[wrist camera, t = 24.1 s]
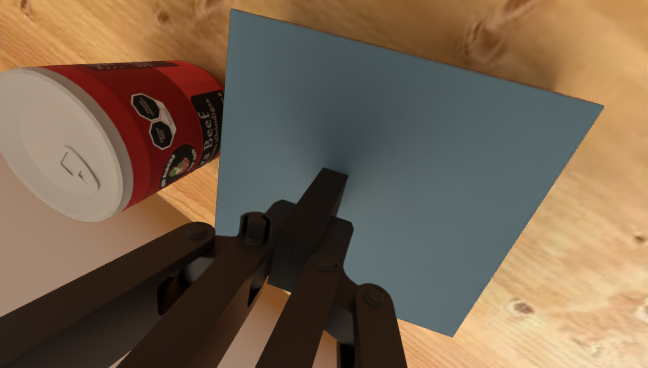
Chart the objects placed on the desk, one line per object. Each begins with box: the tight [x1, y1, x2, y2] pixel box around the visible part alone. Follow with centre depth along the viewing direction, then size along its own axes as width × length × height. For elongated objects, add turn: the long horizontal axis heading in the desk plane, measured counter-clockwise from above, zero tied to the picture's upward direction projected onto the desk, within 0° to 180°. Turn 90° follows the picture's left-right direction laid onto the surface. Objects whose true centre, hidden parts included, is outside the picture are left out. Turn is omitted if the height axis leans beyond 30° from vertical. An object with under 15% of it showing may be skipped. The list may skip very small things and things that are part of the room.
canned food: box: [0, 60, 225, 222], centre depth 19 cm, size 8×8×11 cm
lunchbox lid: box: [214, 9, 604, 337], centre depth 18 cm, size 18×16×1 cm
